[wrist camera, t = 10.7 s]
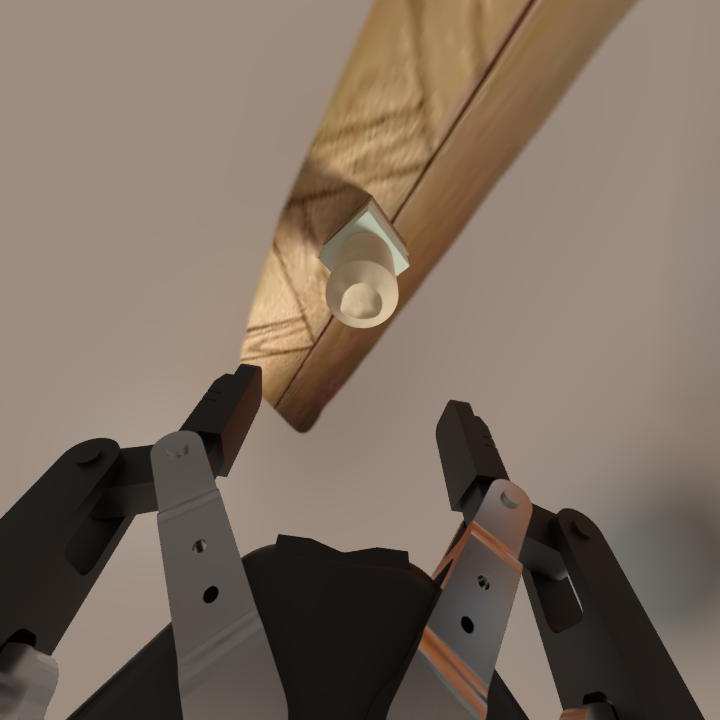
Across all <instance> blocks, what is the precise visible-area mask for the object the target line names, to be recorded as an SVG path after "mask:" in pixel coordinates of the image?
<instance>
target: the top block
mask: <svg viewBox="0 0 720 720" xmlns="http://www.w3.org/2000/svg"><path fill="white" fill-rule="evenodd" d="M363 232H367V233H372V234H375V235H377V236H379V237H381V238H382V239H383V240H384V241H385V242H386V243H387V244H388V246H389V248H390V250H391V253H392V256H393V262H394V268H395V274H396V276H397V275H399V274H400V273H401V272H403V271H404V270H405V269H406V268H408V267H409V263H408V259H407V256H406V253H405V251H404V250H403V249H402V247H401V246H400V245H399V243H398V242H397V241H396V239H395V238H394V236H393V235H392V234H391V232H390V231H389V230H388V228H387V227H386V226H385V224H384V223H383V222H382V220H381V219H380V217H379V216H378V215H377V213H376V212H375V211H374V209H373V208H372V207H371V205H370V204H368V205H367V206H366V207H365V208H364V209H363V210H362V211H361V212H359V213H358V214H357V215H356V216H355V217H354V218H353V219H352V220H351V221H350V222H349V223H348V224H347V225H346V226H345V227H344V228H342V229H341V230H340V231H339V232H338V233H337V234H336V235H335V236H334V237H333V238H332V239H331V240H330V241H329V242H328V243H327V244H325V246H324V248H323V249H322V251H321V253H320V255H319V256H318V258H319V259H320V260H321V262H322V263H323V264H324V265H325V266H326V267H327V268H328V269H329V270H330V272H331V271H332V268H333V265H334V263H335V260H336V257H337V254H338V251H339V249H340V247H341V245H342V244H343V243H344V242H345V241H346V240H347V239H348V238H349V237H351V236H352V235H355V234H358V233H363Z"/></svg>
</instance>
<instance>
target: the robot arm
mask: <svg viewBox="0 0 720 720" xmlns="http://www.w3.org/2000/svg"><path fill="white" fill-rule="evenodd" d="M261 399H262V369H261V367H260V366H254V365H249V364H241V365H240V366H239V367H238V369H237V371H236V372H235V374H234V375H232V374H225V375H223V376H221V377H220V378H218V379H217V380H215V381H214V383H213V384H212V385H211V387H210V388H209V389H208V392H206V394H205V395H204V396H203V398H202V400H201V401H200V402H199V403H198V405H197V406H196V407H195V409H194V410H193V412H192V413H191V414H190V416H189V417H188V419H187V420H186V421H185V423H184V424H183V425H182V427H181V428H180V429H179V431H177V432H173V433H170V434H168V435H166V436H164V437H162V438H161V439H160V440H159V441H157V442H156V443H155V444H154V445H148V446H140V447H132V448H123V449H120V447H119V445H118V443H117V442H116V441H114V440H112V439H108V438H96V439H91V440H88V441H84V442H82V443H79V444H77V445H75V446H74V447H72V448H71V449H69V450H68V451H66V452H65V453H64V454H63V455H62V456H61V457H60V458H59V459H58V460H57V461H56V462H55V463H54V464H53V465H52V466H51V467H50V468H49V469H48V470H47V471H46V472H45V474H43V476H42V477H41V478H40V479H39V480H38V481H37V482H36V483H35V484H34V485H33V486H32V487H31V488H30V489H29V490H28V491H27V492H26V493H25V494H24V495H23V496H22V497H21V498H20V499H19V500H18V501H17V502H16V504H15V505H13V507H12V508H11V509H10V510H9V511H8V512H7V513H6V514H5V515H4V516H3V517H2V518H1V519H0V720H44V716H45V713H46V710H47V707H48V705H49V703H50V700H51V698H52V696H53V694H54V691H55V689H56V685H57V682H58V676H59V670H58V666H57V663H56V661H55V660H54V659H53V658H52V657H51V655H52V653H53V651H54V650H55V648H56V646H57V645H58V643H59V641H60V640H61V638H62V636H63V635H64V633H65V631H66V630H67V628H68V626H69V625H70V623H71V621H72V620H73V618H74V617H75V615H76V613H77V612H78V610H79V608H80V607H81V605H82V603H83V602H84V600H85V598H86V597H87V595H88V593H89V592H90V590H91V588H92V587H93V585H94V583H95V582H96V580H97V578H98V577H99V575H100V574H101V572H102V570H103V569H104V567H105V565H106V563H107V562H108V560H109V559H110V557H111V555H112V554H113V552H114V550H115V549H116V547H117V545H118V544H119V542H120V540H121V539H122V537H123V535H124V534H125V532H126V530H127V529H128V527H129V525H130V524H131V522H132V520H133V519H134V517H135V516H136V515H137V514H142V513H147V512H153V511H159V513H158V514H157V524H158V531H159V538H160V545H161V551H162V558H163V565H164V571H165V578H166V585H167V592H168V599H169V606H170V613H171V619H172V621H171V622H170V623H169V624H168V625H167V626H166V627H165V628H164V629H163V630H162V631H161V632H160V633H159V634H157V635H156V637H154V638H153V639H152V640H151V641H150V642H149V643H148V644H147V645H146V646H144V647H143V648H142V649H141V650H140V651H139V652H138V653H137V654H136V655H135V656H134V657H133V658H131V659H130V660H129V661H128V662H127V663H126V664H125V665H124V666H123V667H122V668H121V669H120V670H119V671H118V672H116V673H115V674H114V675H113V676H112V677H111V678H110V679H109V680H108V681H107V682H106V683H105V684H103V685H102V686H101V687H100V688H99V689H98V690H97V691H96V692H95V693H94V694H93V695H92V696H91V697H89V698H88V699H87V700H86V701H85V702H84V703H83V704H82V705H81V706H80V707H79V708H78V709H77V710H76V711H74V712H73V713H72V714H71V715H70V716H69V717H68V718H67V719H66V720H529V719H528V717H527V716H526V714H525V713H524V711H523V710H522V708H521V707H520V705H519V704H518V702H517V701H516V700H515V698H514V697H513V695H512V693H511V692H510V691H509V689H508V688H507V686H506V685H505V683H504V682H503V680H502V679H501V677H500V676H499V674H498V673H497V671H496V670H495V664H496V661H497V657H498V654H499V651H500V647H501V644H502V640H503V637H504V633H505V630H506V626H507V623H508V619H509V616H510V612H511V609H512V605H513V602H514V598H515V594H516V591H517V588H518V584H519V581H520V577H521V574H522V576H523V579H524V583H525V586H526V589H527V592H528V596H529V599H530V602H531V606H532V609H533V612H534V615H535V619H536V622H537V626H538V629H539V632H540V636H541V639H542V642H543V646H544V649H545V652H546V655H547V659H548V662H549V665H550V669H551V672H552V675H553V679H554V682H555V685H556V688H557V692H558V695H559V698H560V702H561V705H562V708H563V713H562V714H561V716H560V719H559V720H705V719H704V717H703V716H702V714H701V712H700V710H699V708H698V706H697V704H696V703H695V701H694V699H693V697H692V695H691V694H690V692H689V690H688V688H687V686H686V685H685V683H684V681H683V679H682V677H681V675H680V674H679V672H678V670H677V668H676V666H675V665H674V663H673V661H672V659H671V658H670V656H669V654H668V652H667V650H666V648H665V647H664V645H663V643H662V641H661V639H660V637H659V636H658V634H657V632H656V630H655V628H654V627H653V625H652V623H651V621H650V620H649V618H648V616H647V614H646V612H645V610H644V608H643V607H642V605H641V603H640V601H639V600H638V598H637V596H636V594H635V592H634V590H633V589H632V587H631V585H630V583H629V581H628V580H627V578H626V576H625V574H624V572H623V570H622V569H621V567H620V565H619V563H618V561H617V560H616V558H615V556H614V554H613V552H612V551H611V549H610V547H609V545H608V543H607V541H606V540H605V538H604V536H603V534H602V533H601V531H600V530H599V528H598V527H597V526H596V525H595V524H594V523H593V521H591V520H590V519H589V518H588V517H587V516H585V515H584V514H582V513H580V512H578V511H576V510H574V509H570V508H565V509H562V510H561V511H559V512H558V513H557V514H555V513H552V512H550V511H548V510H546V509H543V508H541V507H539V506H537V505H535V504H533V503H531V501H530V499H529V497H528V496H527V494H526V493H525V492H524V491H523V490H522V489H521V488H520V487H519V486H517V485H516V484H514V483H513V482H511V481H510V480H509V477H508V475H507V472H506V470H505V467H504V465H503V463H502V460H501V458H500V456H499V453H498V450H497V448H495V443H494V441H493V439H492V436H491V434H490V431H489V429H488V427H487V426H486V424H485V423H484V422H483V421H482V419H481V418H480V417H478V416H474V414H473V411H472V408H471V406H470V404H469V403H467V402H462V401H456V400H450V401H449V402H448V403H447V406H446V407H445V410H444V412H443V414H442V416H441V418H440V420H439V422H438V424H437V428H436V440H437V444H438V449H439V453H440V459H441V463H442V468H443V473H444V477H445V482H446V487H447V491H448V496H449V501H450V505H451V510H452V511H458V512H463V517H464V520H463V521H462V523H461V524H460V526H459V528H458V530H457V532H456V534H455V535H454V537H453V540H452V541H451V543H450V545H449V547H448V549H447V551H446V553H445V554H444V556H443V558H442V560H441V562H440V564H439V565H438V567H437V568H436V570H435V571H434V573H433V575H432V576H431V577H430V576H428V575H427V574H426V573H425V572H424V571H423V570H421V569H420V568H419V567H417V566H415V565H414V564H412V563H410V562H409V557H408V551H401V550H393V549H386V548H378V547H376V548H370V549H364V550H358V551H352V552H346V553H344V552H340V551H338V550H336V549H333V548H331V547H329V546H327V545H324V544H322V543H320V542H318V541H315V540H313V539H311V538H302V537H296V536H287V535H281V534H279V535H278V537H277V541H276V544H273V545H268V546H265V547H261V548H259V549H256V550H254V551H252V552H250V553H249V554H247V555H245V556H243V557H242V558H240V554H239V551H238V548H237V545H236V542H235V538H234V535H233V532H232V529H231V526H230V523H229V520H228V516H227V513H226V510H225V507H224V504H223V500H222V497H221V495H220V492H219V489H217V487H216V483H215V479H216V477H217V476H223V477H227V476H228V474H229V472H230V469H231V467H232V465H233V463H234V461H235V459H236V457H237V454H238V452H239V450H240V447H241V446H242V444H243V442H244V439H245V437H246V435H247V433H248V431H249V429H250V426H251V424H252V422H253V420H254V418H255V416H256V414H257V411H258V409H259V407H260V403H261ZM568 575H569V576H570V579H571V581H572V583H573V586H574V588H575V591H576V593H577V595H578V598H579V600H580V603H581V606H582V610H583V613H582V610H581V608H580V606H579V603H578V601H577V598H576V596H575V594H574V591H573V589H572V586H571V584H570V581H569V579H568Z"/></svg>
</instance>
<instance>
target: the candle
mask: <svg viewBox="0 0 720 720" xmlns="http://www.w3.org/2000/svg"><path fill="white" fill-rule="evenodd" d="M326 301H327V304H328V307H329V309H330V311H331V312H332V313H333V315H334V316H335V317H336V318H337V319H338V320H340V321H341V322H343V323H344V324H346V325H349V326H352V327H356V328H369V327H373V326H376V325H378V324H380V323H382V322H384V321H385V320H386V319H387V318H388V317H389V316H390V315H391V314H392V313H393V311H394V309H395V307H396V305H397V301H398V287H397V280H396V274H395V268H394V262H393V256H392V253H391V250H390V248H389V246H388V244H387V243H386V242H385V241H384V240H383V239H382V238H381V237H379V236H377V235H375V234H372V233H367V232H363V233H358V234H355V235H352V236H351V237H349V238H348V239H347V240H346V241H345V242H344V243H343V244H342V245H341V247H340V249H339V251H338V254H337V257H336V260H335V263H334V265H333V268H332V271H331V274H330V277H329V280H328V283H327V286H326Z"/></svg>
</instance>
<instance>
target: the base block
mask: <svg viewBox="0 0 720 720" xmlns="http://www.w3.org/2000/svg"><path fill="white" fill-rule="evenodd" d="M368 204H370V205H371V207H372V208H373V209H374V211H375V212H376V213H377V215H378V216H379V217H380V219H381V220H382V222H383V223H384V224H385V226H386V227H387V228H388V230H389V231H390V232H391V234H392V235H393V236H394V238H395V239H396V241H397V242H398V243H399V245H400V246H401V247H402V249H403V250H404V251H405V253H406V256H408V255H409V252H408V249H407V246H406V243H405V242H404V241H403V239H402V238H401V236H400V235H399V233H398V232H397V230H396V229H395V228H394V226H393V225H392V223H391V222H390V220H389V219H388V218H387V216H386V215H385V213H384V212H383V210H382V209H381V207H380V206H379V205H378V203H377V202H376V200H375V199H374V197H373V196H371V197H370V198H369V199H368V200H367V201H365V202H364V203H363V204H362V205H361V206H360V207H359V208H358V209H357V210H356V211H355V212H353V213H352V214H351V215H350V216H349V217H348V218H347V219H346V220H345V221H344V222H343V223H341V224H340V225H339V226H338V227H337V228H336V229H335V230H334V231H333V232H332V233H330V234H329V236H328V237H327V239H326V240H325V242H324V244H323V245H324V246H325V244H327V243H328V242H329V241H330V240H331V239H332V238H333V237H334V236H335V235H336V234H337V233H338V232H339V231H340V230H341V229H342V228H344V227H345V226H346V225H347V224H348V223H349V222H350V221H351V220H352V219H353V218H354V217H355V216H356V215H357V214H358V213H359V212H361V211H362V210H363V209H364V208H365V207H366V206H367V205H368Z"/></svg>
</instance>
